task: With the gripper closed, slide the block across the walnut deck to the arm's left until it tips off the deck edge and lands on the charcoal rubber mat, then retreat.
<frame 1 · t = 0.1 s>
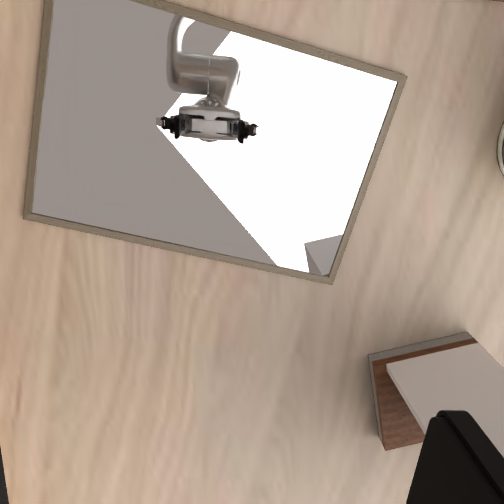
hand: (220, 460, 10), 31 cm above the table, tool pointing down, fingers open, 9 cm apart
picture frame: (211, 146, 39), on the table
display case: (420, 385, 50), on the table
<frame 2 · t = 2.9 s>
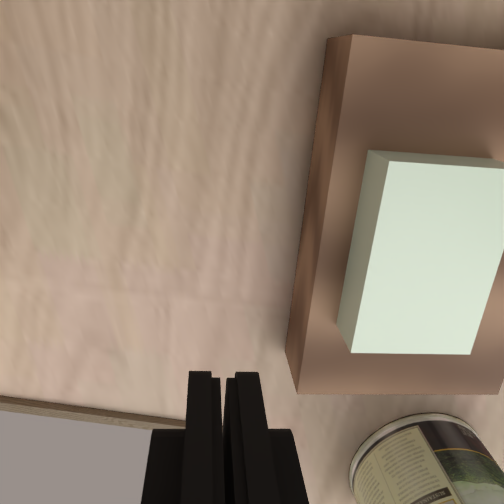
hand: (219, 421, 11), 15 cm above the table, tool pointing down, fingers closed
coffee can: (413, 463, 34), on the table
block: (410, 246, 22), point 4 cm above the table, touching deck
deck: (405, 221, 26), on the table
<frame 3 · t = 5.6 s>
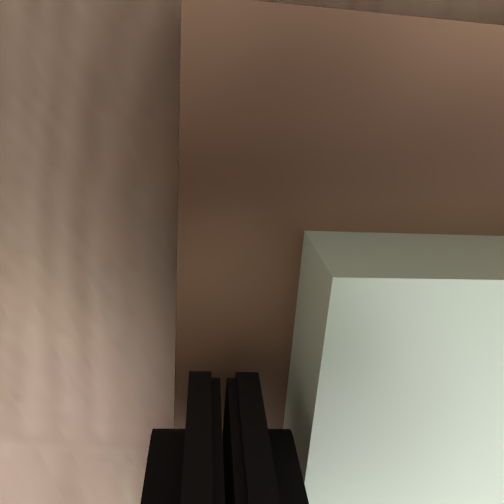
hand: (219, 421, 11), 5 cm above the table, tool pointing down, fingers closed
block: (396, 391, 12), point 4 cm above the table, touching deck, gripper
deck: (354, 318, 16), on the table
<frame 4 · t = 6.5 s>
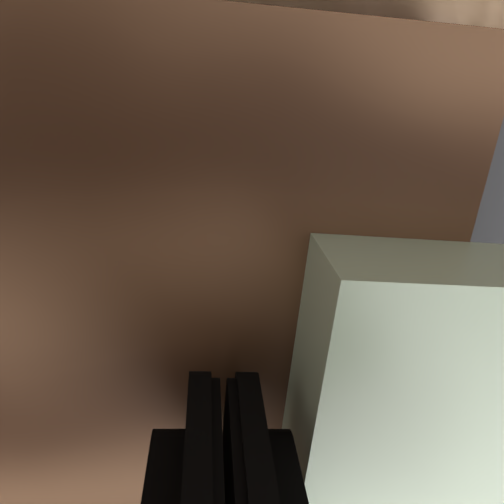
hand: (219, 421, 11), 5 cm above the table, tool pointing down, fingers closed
block: (395, 396, 12), point 4 cm above the table, touching deck, gripper
mat: (490, 323, 17), on the table
deck: (207, 317, 15), on the table
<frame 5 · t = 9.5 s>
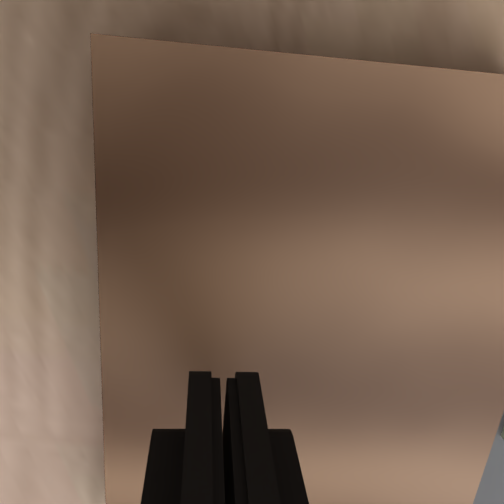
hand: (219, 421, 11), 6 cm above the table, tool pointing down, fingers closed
deck: (292, 326, 17), on the table
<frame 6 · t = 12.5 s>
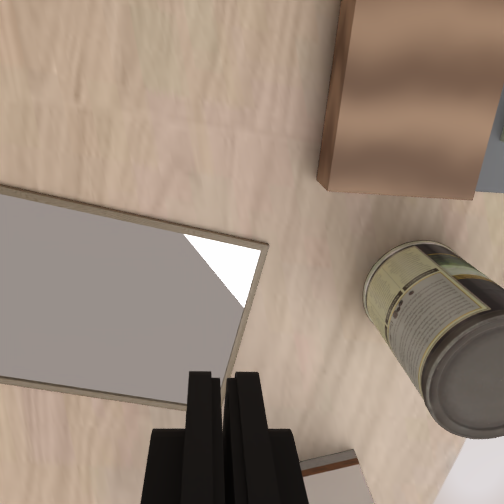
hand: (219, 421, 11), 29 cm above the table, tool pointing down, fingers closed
coffee can: (412, 288, 44), on the table
picture frame: (95, 303, 42), on the table
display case: (314, 494, 53), on the table
deck: (404, 74, 36), on the table
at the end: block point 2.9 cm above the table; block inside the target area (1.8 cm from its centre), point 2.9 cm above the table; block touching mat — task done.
